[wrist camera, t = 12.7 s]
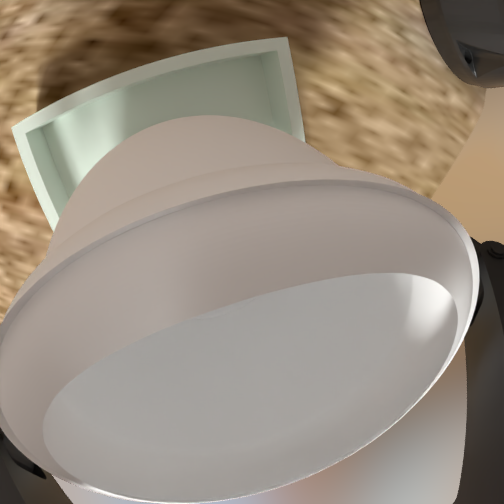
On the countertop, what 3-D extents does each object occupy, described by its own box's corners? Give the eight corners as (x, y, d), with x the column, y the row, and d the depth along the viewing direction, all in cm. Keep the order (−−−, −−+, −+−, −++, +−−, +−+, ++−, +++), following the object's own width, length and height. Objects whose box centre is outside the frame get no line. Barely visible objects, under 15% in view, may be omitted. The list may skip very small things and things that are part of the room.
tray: (263, 45, 15) (287, 37, 12) (297, 250, 23) (318, 275, 20) (35, 119, 12) (11, 127, 10) (124, 311, 21) (124, 344, 18)
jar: (66, 203, 15) (-33, 454, 3) (186, 68, 13) (381, -52, 1) (190, 292, 21) (255, 505, 9) (298, 190, 19) (480, 353, 7)
